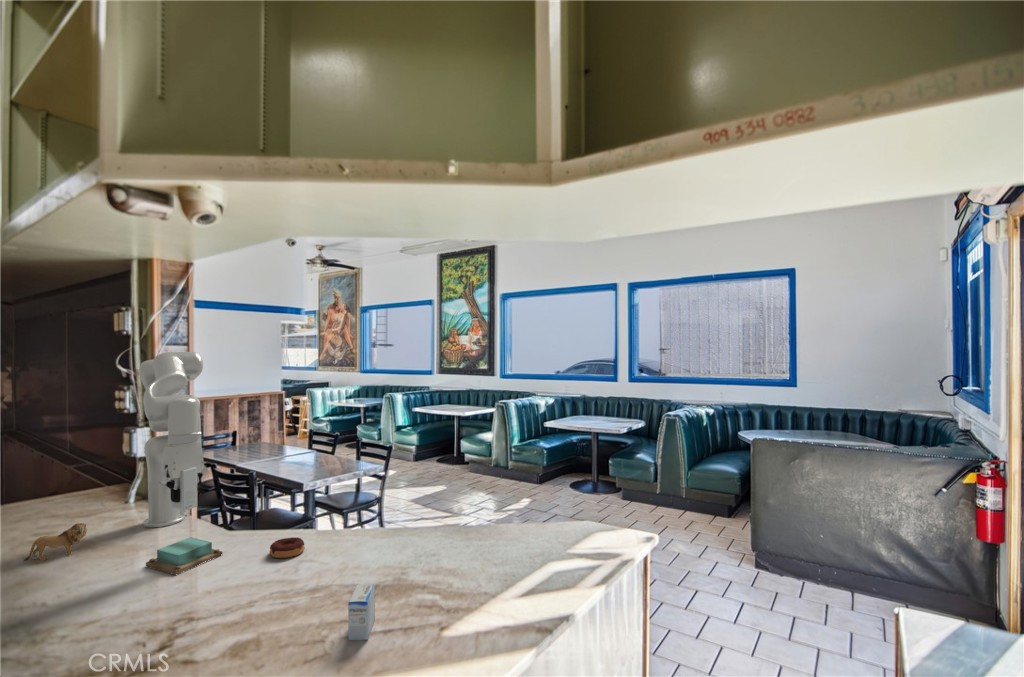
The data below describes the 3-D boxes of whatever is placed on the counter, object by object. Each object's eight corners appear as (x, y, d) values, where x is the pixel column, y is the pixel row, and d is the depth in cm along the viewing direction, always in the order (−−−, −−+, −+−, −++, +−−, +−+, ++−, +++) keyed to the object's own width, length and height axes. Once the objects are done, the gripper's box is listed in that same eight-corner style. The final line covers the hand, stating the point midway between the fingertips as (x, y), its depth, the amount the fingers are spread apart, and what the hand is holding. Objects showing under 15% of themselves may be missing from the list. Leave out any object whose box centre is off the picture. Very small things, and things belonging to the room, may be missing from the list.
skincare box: (197, 506, 151) (197, 467, 151) (183, 511, 147) (183, 471, 147) (185, 504, 153) (184, 465, 153) (170, 508, 149) (170, 468, 149)
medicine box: (356, 620, 117) (355, 584, 117) (375, 619, 118) (375, 583, 118) (348, 641, 109) (347, 602, 109) (368, 640, 110) (368, 601, 110)
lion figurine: (87, 546, 161) (87, 519, 161) (86, 552, 157) (86, 524, 157) (24, 560, 152) (23, 530, 152) (21, 566, 148) (21, 536, 148)
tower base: (193, 547, 159) (192, 533, 159) (222, 555, 154) (222, 540, 154) (145, 566, 147) (145, 551, 147) (176, 575, 141) (175, 559, 141)
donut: (310, 547, 159) (310, 535, 159) (294, 561, 150) (294, 548, 150) (281, 546, 160) (280, 534, 160) (262, 560, 151) (262, 546, 151)
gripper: (202, 433, 159) (203, 489, 159) (145, 443, 144) (146, 506, 144) (218, 434, 156) (218, 492, 156) (161, 445, 141) (162, 509, 141)
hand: (184, 498), depth 150 cm, fingers closed on skincare box, 4 cm apart
